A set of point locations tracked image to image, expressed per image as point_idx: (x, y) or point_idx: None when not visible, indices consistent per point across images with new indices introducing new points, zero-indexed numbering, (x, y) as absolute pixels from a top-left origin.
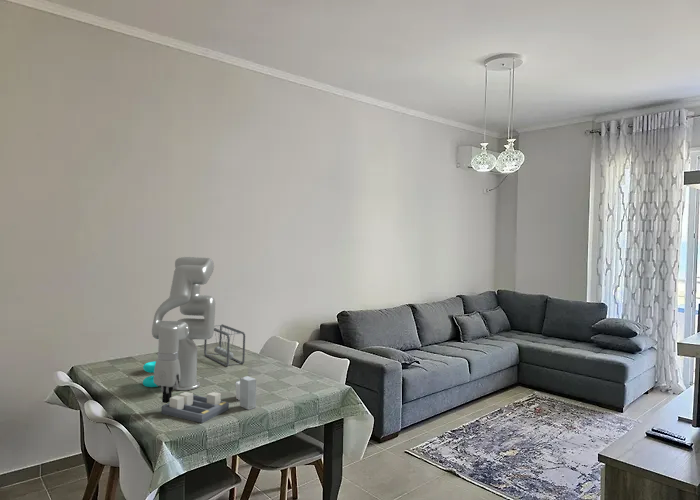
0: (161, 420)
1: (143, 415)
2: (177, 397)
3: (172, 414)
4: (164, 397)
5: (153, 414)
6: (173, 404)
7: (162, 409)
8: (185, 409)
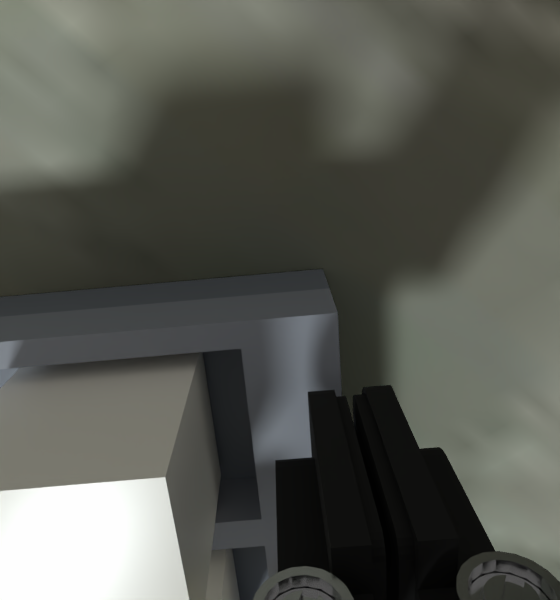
0: (76, 63)
1: (509, 46)
2: (54, 588)
3: (94, 295)
4: (361, 461)
5: (396, 174)
6: (80, 408)
7: (309, 293)
8: None
